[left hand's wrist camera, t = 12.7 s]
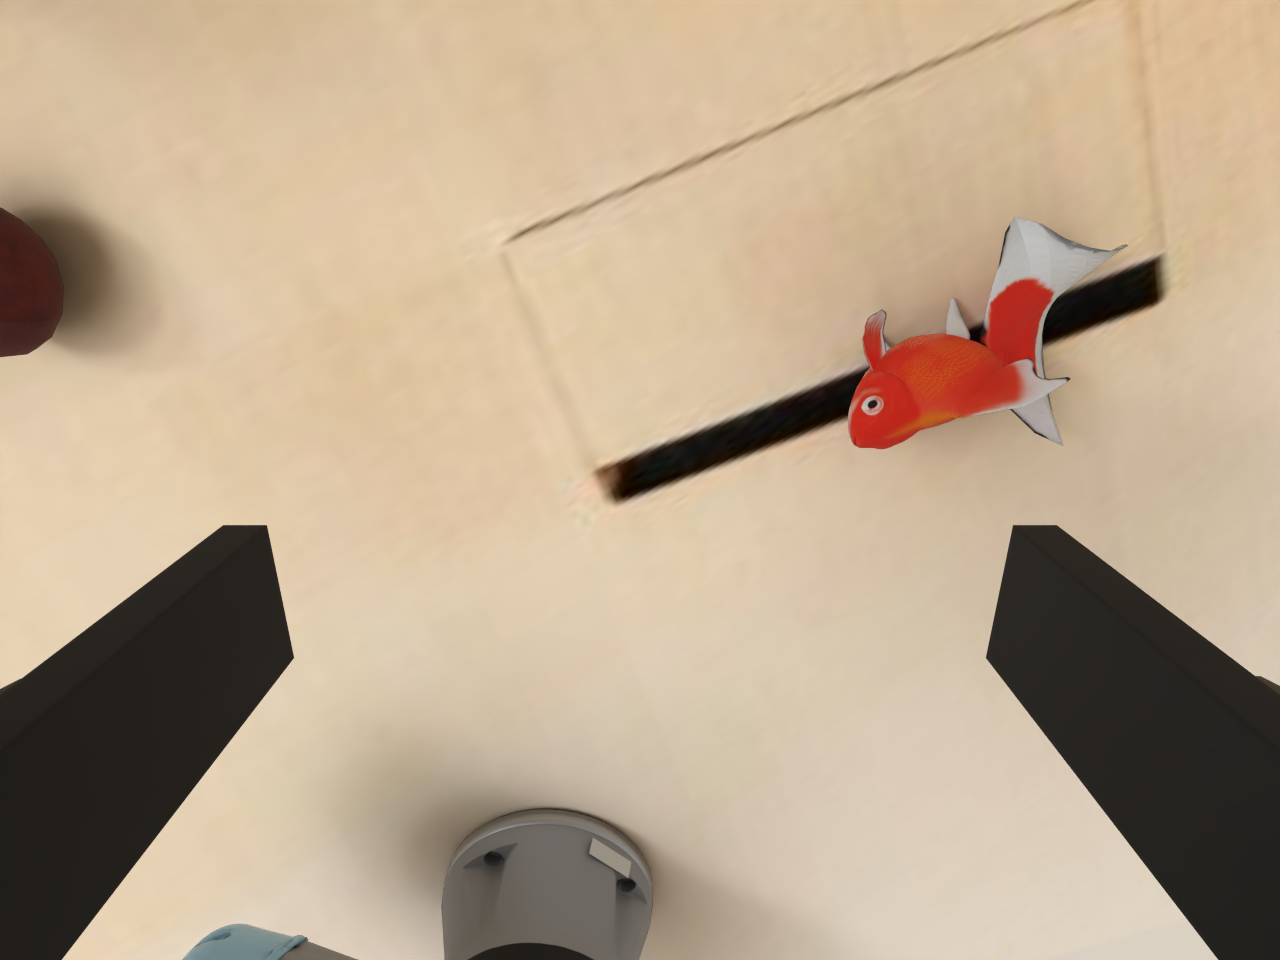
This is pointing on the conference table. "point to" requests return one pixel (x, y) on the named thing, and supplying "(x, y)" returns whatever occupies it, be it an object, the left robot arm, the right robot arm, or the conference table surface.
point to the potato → (26, 288)
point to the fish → (974, 349)
